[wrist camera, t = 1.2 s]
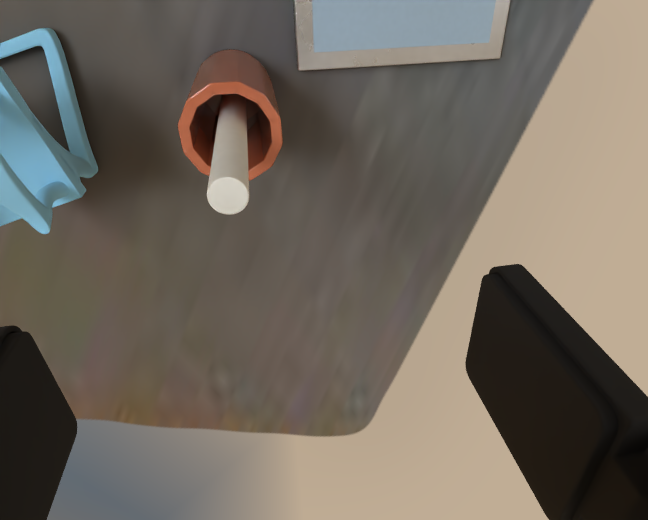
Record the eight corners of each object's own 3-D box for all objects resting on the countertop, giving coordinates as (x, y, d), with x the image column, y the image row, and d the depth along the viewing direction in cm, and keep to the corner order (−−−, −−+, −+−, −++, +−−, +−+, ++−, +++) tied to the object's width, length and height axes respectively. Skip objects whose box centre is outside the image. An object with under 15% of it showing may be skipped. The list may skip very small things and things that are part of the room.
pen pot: (189, 51, 26) (168, 85, 19) (267, 47, 27) (277, 79, 19) (203, 129, 29) (190, 186, 21) (274, 123, 29) (285, 177, 22)
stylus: (220, 80, 27) (203, 178, 15) (244, 78, 27) (246, 175, 15) (224, 103, 28) (210, 216, 15) (246, 102, 28) (251, 213, 15)
